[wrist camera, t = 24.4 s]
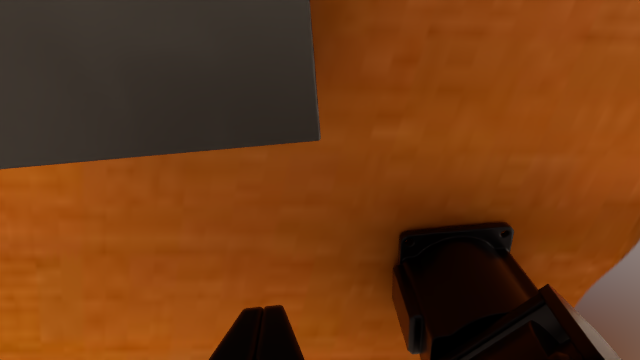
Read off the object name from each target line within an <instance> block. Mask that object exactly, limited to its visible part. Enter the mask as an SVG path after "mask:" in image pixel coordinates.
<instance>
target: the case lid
mask: <svg viewBox="0 0 640 360" xmlns="http://www.w3.org/2000/svg"><path fill="white" fill-rule="evenodd" d="M320 139H321V135H320V123H319V110H318V98H317V85H316V73H315V61H314V48H313V36H312V23H311V11H310V0H0V169H7V168H19V167H30V166H41V165H52V164H63V163H74V162H85V161H97V160H108V159H119V158H130V157H141V156H152V155H163V154H175V153H186V152H197V151H208V150H219V149H230V148H241V147H253V146H264V145H275V144H286V143H297V142H308V141H319V140H320Z"/></svg>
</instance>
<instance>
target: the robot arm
mask: <svg viewBox="0 0 640 360" xmlns="http://www.w3.org/2000/svg"><path fill="white" fill-rule="evenodd" d="M504 230H506V231H505V232H504V233H501V232H502V231H504ZM513 234H514V230H513V229H512V227H511V226H510V225H509V224H507V223H494V224H483V225H472V226H461V227H450V228H439V229H428V230H417V231H407V232H404V233H402V234H401V236H400V237H399V259H398V264H397V265H395V266H394V268H393V287H392V298H393V302H394V305H395V309H396V312H397V316H398V319H399V322H400V326H401V329H402V333H403V336H404V339H405V343H406V346H407V350H408V351H409V352H410V353H412V354H420V357H421V360H622V359H621V358H620V357H619V356H618V355H617V354H616V352H615V351H614V350H613V349H612V348H611V347H610V346H609V344H608V343H607V342H606V341H605V340H604V339H603V338H602V336H601V335H600V334H599V333H598V332H597V331H596V330H595V329H594V328H593V327H592V326H591V325H590V324H589V323H588V322H587V321H586V320H585V319H584V318H583V317H582V316H581V315H580V314H579V313H578V312H577V311H576V310H575V309H574V308H573V307H572V306H571V305H569V304H568V303H567V302H566V301H565V300H564V299H563V298H562V297H561V296H560V295H559V294H558V293H557V292H556V291H555V290H554V289H553V288H552V287H551V286H550V285H549V284H547V285H545V286H544V287H542V288H541V289H539V290H538V289H537V288H536V286H535V285H534V284H533V282H532V281H531V280H530V279H529V277H528V276H527V275H526V273H525V272H524V271H523V269H522V268H521V267H520V266H519V264H518V263H517V262H516V260H515V259H514V258H513V256H512V255H511V254H510V249H511V244H512V239H513ZM408 239H412V240H411V241H409V242H405V241H406V240H408ZM209 360H304V357H303V355H302V352H301V350H300V347H299V345H298V342H297V340H296V337H295V335H294V332H293V330H292V327H291V325H290V322H289V320H288V317H287V315H286V312H285V310H284V307H283V306H282V305H276V306H266V307H265V308H264V309H263V308H262V307H254V308H246V309H244V310H243V311H242V312H241V314H240V315H239V316H238V318H237V319H236V321H235V322H234V324H233V325H232V327H231V328H230V329H229V331H228V332H227V334H226V335H225V337H224V338H223V340H222V341H221V342H220V344H219V345H218V347H217V348H216V350H215V351H214V353H213V354H212V356H211V357H210V358H209Z"/></svg>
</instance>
